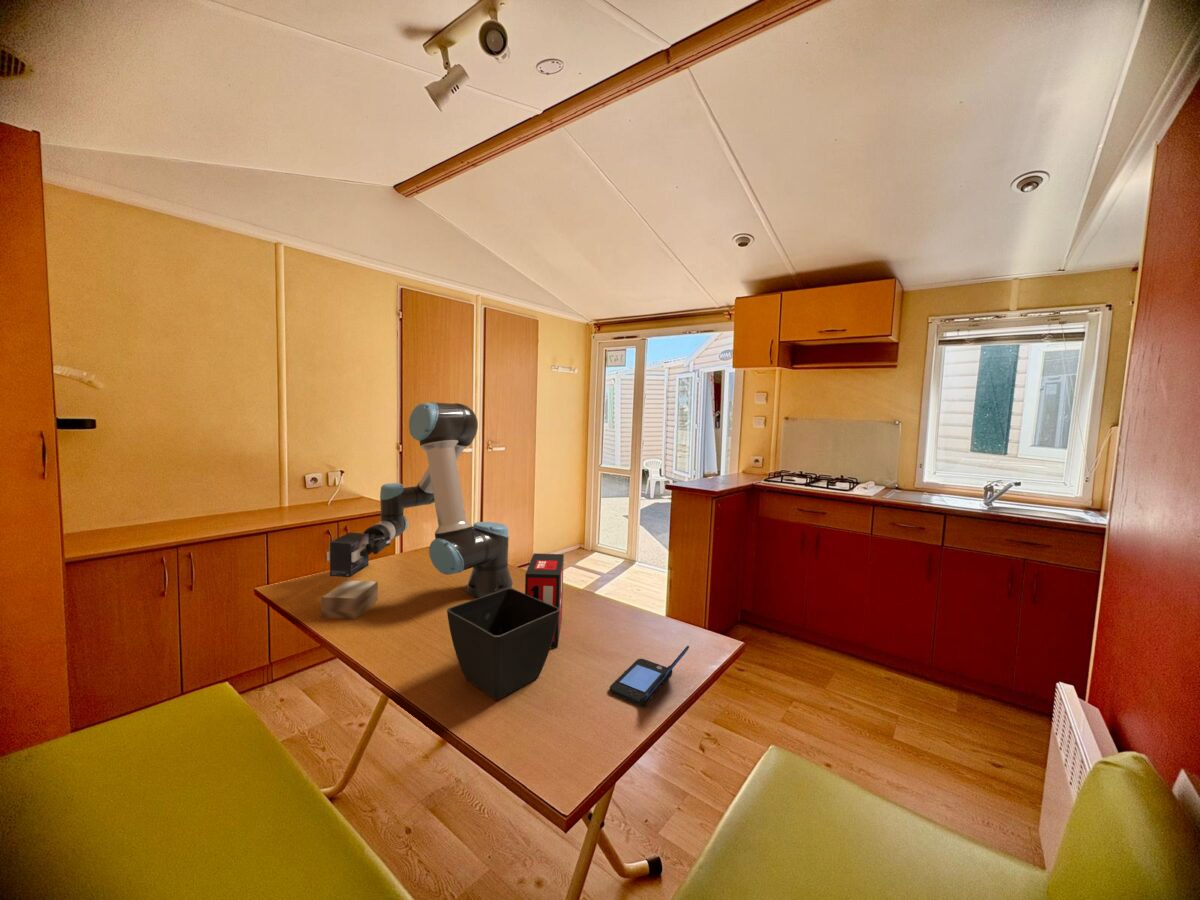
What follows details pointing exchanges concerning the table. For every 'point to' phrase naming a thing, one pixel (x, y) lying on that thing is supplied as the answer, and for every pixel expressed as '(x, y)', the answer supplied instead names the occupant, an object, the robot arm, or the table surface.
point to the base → (349, 599)
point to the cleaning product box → (547, 583)
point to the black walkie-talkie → (642, 680)
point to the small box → (347, 554)
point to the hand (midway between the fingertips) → (340, 557)
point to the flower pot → (502, 639)
